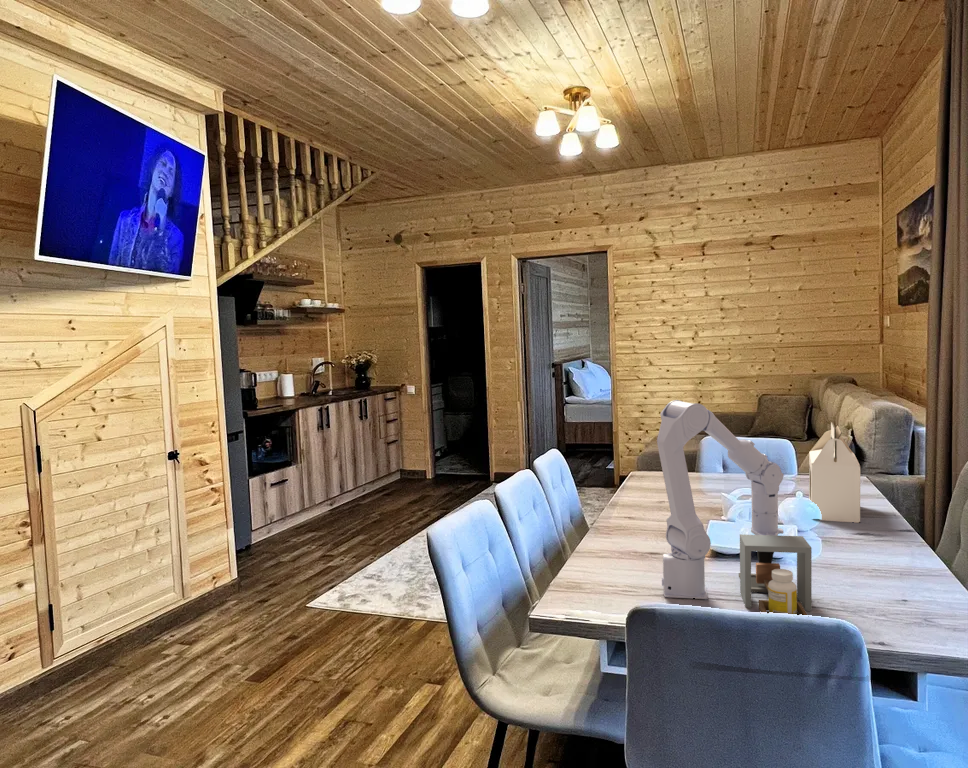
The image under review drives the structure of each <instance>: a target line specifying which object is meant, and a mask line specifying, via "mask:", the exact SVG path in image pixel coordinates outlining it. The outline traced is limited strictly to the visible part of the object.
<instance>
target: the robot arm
mask: <svg viewBox="0 0 968 768" xmlns="http://www.w3.org/2000/svg"><path fill="white" fill-rule="evenodd" d="M660 420H661V422H660V425H659V430H658V435H657V438H656V444H657V450H658V454H659V455H658V456H659V461H660V465H661V469H662V476H663V479H664V485H665V492H666V496H667V501H668V506H669V511H670V516H669V517H668V518H667V519H666V531H665V540H666V542H667V543H668V545H670V551H671V552H670V553H669V552H668V553H662V577H661V586H663V597H665V598H676V599H693V598H695V600H696V599H697V600H698V599H699V600H708V599H709V595H708V592H707V587H706V583H705V582H706V581H705V579H706V578H705V559H706V555H708V553H709V551H710V550H711V549H710V548H711V544H712V543H711V538H710V536H709V534H708V533H707V532H706V531H705V527H704V524H703V522H702V520H701V519H700V517H699V516H698V515H697V512H696V508H695V503H694V497H693V492H692V487H691V481H690V475H689V471H688V465H687V462H686V461H687V460H686V456H685V450H684V447H685V445H686V444H687V443H688V442H689V441H690V440H692V439H693V438H694V437H696V436H697V435H698V434H699V433H701V432H702V431H703V432H705V433H706V434H708V435H709V437H711V438H712V439H714V441H716V442H718V443H719V444H720V445H721V446H722V447H724V448H725V449H726V450H727V457H728V459H730V461H732V462H733V463H734V464H735V465H736V466H737V467H738V468H740V469H741V470H742V471H743V472H744V473H745V477H746V479H747V480H750V481H751V484H750V485H751V487H750V488H751V490H750V491H751V493H750V494H751V527H750V532H751V533H752V535H776V536H779V534H780V535H782V534H784V530H783V528H779V517H778V515H779V498H778V497H779V496H778V495H779V492H780V484H782V482H783V480H784V476H785V475H784V473H782V469H781V467H780V466H779V464H778V463H775V462H773V461H769V459H768V455H766V454H765V453H762V452H761V451H759V450H758V449H757V448H756V447H755V445H756V444H755V443H754V442H753V440H749V439H748V440H747V439H738V437H736V435H734V434H733V433H732V432H731V430H729V429H728V428H727V427H726V426H725V424H724V423H722V422H721V421H720V420H719V418H717V416H715V414H714V413H713V412H712V411H711V410H709V409H707V407H706V406H705V405H703V404H701V403H699V402H698V403H697V402H695V403H693V402H689V401H688V402H687V401H683V400H679V399H674V400H671V401H670V402H668V403H667V404H666V405H665V407H664V408H663V409H662V410H661V412H660ZM756 553H757V559H758V563H773V557H774V554H775V552H759V551H756Z"/></svg>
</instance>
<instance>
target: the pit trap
mask: <svg viewBox="0 0 968 768" xmlns="http://www.w3.org/2000/svg"><path fill="white" fill-rule="evenodd" d="M738 578H739V579H740V572H738ZM757 592H764V593H763V594H768V591H767V589H766V587H765V585H764V584H760V583H757V582H756V573H751V593H757Z"/></svg>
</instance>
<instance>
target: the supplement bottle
mask: <svg viewBox="0 0 968 768" xmlns="http://www.w3.org/2000/svg"><path fill="white" fill-rule="evenodd" d="M772 579H773V580H771V581H770V582H769V584H768V593H767V594H768V600H769V611H768V613H769V612H773V613H788V614H797V615H798V612H797V602H798V597H797V583H795V582H794V581H793V580H794V575H793V571H791V570H788V569H785V568H780V569H774V570H772Z"/></svg>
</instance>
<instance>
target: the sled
mask: <svg viewBox="0 0 968 768" xmlns="http://www.w3.org/2000/svg"><path fill="white" fill-rule="evenodd" d="M774 569H781V565H780V563H779V562H776V563H775V562H772V563H759V562H755V574H756V582H757V583H760V584H764V585H765V587H766V589H767V591H768V584H769V582H770V581H771V580H773V579H772V570H774ZM758 610H759V612H760V611H761V612H767V613H768V611H767V610H769V599H758ZM799 614H802V615H808V613H807V611H805V609H804V607H803V606H802V604H801V602H800V601H797V615H799Z"/></svg>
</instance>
